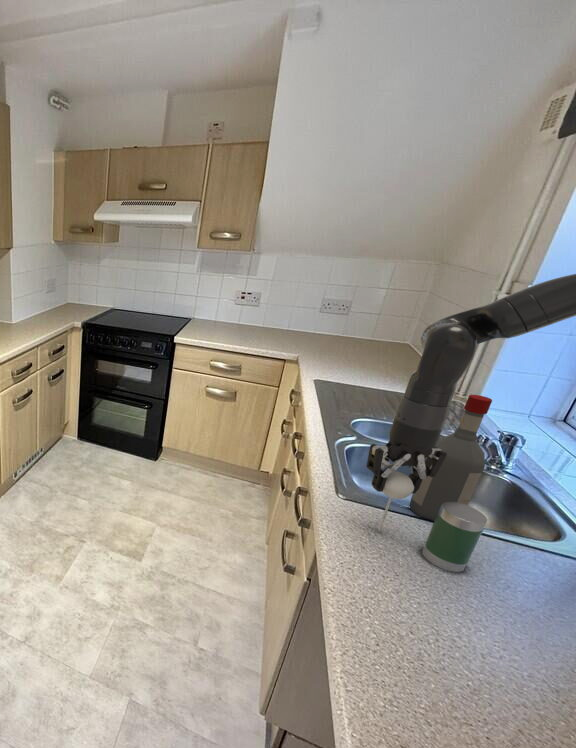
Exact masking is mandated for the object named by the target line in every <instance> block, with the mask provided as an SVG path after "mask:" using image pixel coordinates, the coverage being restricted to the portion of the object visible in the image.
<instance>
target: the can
mask: <svg viewBox="0 0 576 748" xmlns="http://www.w3.org/2000/svg"><path fill="white" fill-rule="evenodd" d="M487 522H488V517H487V516H486V515H485V514H484V513H482V512H481V511H480V510H478V509H476V508H474V507H472V506H469V505H468V506H467V505H464V504H461V503H457V502H444V503H443V504H442V506H441V508H440V510H439V512H438V514H437V517H436V519H435V521H433V524H432V526H431V529H430V531H429V534H428V535H427V538H426V541H425V542H424V546H423V549H422V552H421V553H422V555H423V557H424V558H425V559H426V560H427V561H428V562H429V563H431V564H433V565H434V566H435V567H438V568H440V569H443V570H445V571H448V572H452V573H461V572H463V571H464V570H465V568H466V566H467V565H468V563H469V561H470V559H471V557H472V554H473V553H474V550H475V548H476V546H477V544H478V542H479V540H480V538H481V536H482V534H483V532H484V529H485V526H486V524H487Z"/></svg>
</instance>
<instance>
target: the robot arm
mask: <svg viewBox="0 0 576 748" xmlns="http://www.w3.org/2000/svg"><path fill="white" fill-rule="evenodd" d="M573 317H576V273H573V274H569V275H564V276H560V277H556V278H553V279H548V280H546V281H542V282H539V283H536V284H534V285H531V286H528V287H526V288H523V289H521V290H519V291H516V292H513V293H511V294H508V295H506V296H504V297H501V298H499V299H497V300H494V301H492V302H491V303H488V304H485V305H481V306H478V307H473V308H471V309H467V310H465V311H461V312H458V313H454V314H451V315H449V316H446V317H444V318H441V319H439V320H436V321H434V322H432V323H430V324H429V325H428V326H427V327H425V328H424V330H423V331H422V333H421V335H420V344H421V346H422V348H423V351H422V354H421V357H420V360H419V363H418V366H417V369H415V370H414V371H413V372H412V373H411V375H410V377H409V379H408V382H407V385H406V388H405V390H404V394H403V396H402V398H401V400H400V402H399V404H398V407H397V410H396V413H395V414H394V419H393V421H392V425H391V427H390V430H389V432H388V433H389V440H388V442H387V443H386V444H385V445H377V444H376V443H372V444H370V446H369V451H368V455H367V462H366V468H367V469H368V470H369V471H370V472H372V473H373V474H374V475H373V477H372V481H371V486H372V488H373V489H374V490H375V491H376V492H378V493H383V492H382V491H383V489H384V486H385V483H386V480H387V476H388V475H389V474H390V473H391V472H392V471H398V469H399V468H400V467H406V466H407V467H410V471H411V473H409V475H408V477H409V478H410V479H411V480H412V483H413V485H414V491H413V492H412V493H411V494H413V493H416V491H418V490H419V488H420V485H421V482H422V480H423V479H425V478H426V477H428V476H430V477H435V476H436V474H437V472H438V470H439V469H440V467H441V465H442V463H443V461H444V459H445V458H446V456H447V453H445V452H444V451H443V450H441V449H439V448H437V447H435V446H436V444H437V441H438V439H440V436H441V435H442V431H443V428H444V427H445V426H444V425H445V424H446V421H447V418H448V414H449V410H450V405H451V403H452V400H453V397H454V396H455V392H456V390H457V387H458V386H457V385H458V382H459V381H460V380H461V378H462V377H463V375H464V374H465V372H466V370H467V369H468V367H469V366H470V364H471V362H472V360H473V358H474V356H475V353H476V352H477V351H476V350H477V347H478V345H479V344H482V343H486V342H489V341H492V340H497V339H512V338H516V337H520V336H522V335H525V334H529V333H531V332H533V331H537V330H539V329H542V328H545V327H548V326H551V325H554V324H557V323H559V322H562V321H565V320H568V319H571V318H573ZM426 458H427V459H426ZM391 462H392V463H391ZM431 465H432V468H431V469H430V467H431Z"/></svg>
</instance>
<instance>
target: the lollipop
mask: <svg viewBox="0 0 576 748" xmlns="http://www.w3.org/2000/svg"><path fill="white" fill-rule="evenodd" d="M413 491H414V485H413V483H412V480H411V479H410V478H409V475H407V474H406V473H405V472H401V471H398V470H396V471H392V472H391V473H390V474H389V475H388V476H387V480H386V483H385V486H384V489H383V491H382V492H381V493H383V495H385V496H386V497H387V498H388V497H389V498H388V501H387V503H386V506H385V509H384V512H383V515H382V517H381V520H380V523H379V526H378V529H377V530H378V531H379V532H381V531H382V528H383V525H384V524H385V523H384V522H385V519H386V517H387V514H388V511H389V509H390V505H391V502H392V500H393V499H395V500H403V499H406V498H408V497H410V495H412V494H413V493H412V492H413Z"/></svg>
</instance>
